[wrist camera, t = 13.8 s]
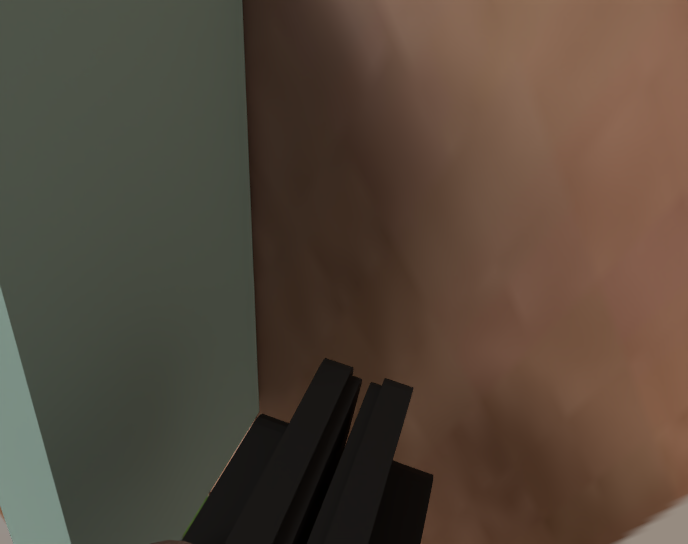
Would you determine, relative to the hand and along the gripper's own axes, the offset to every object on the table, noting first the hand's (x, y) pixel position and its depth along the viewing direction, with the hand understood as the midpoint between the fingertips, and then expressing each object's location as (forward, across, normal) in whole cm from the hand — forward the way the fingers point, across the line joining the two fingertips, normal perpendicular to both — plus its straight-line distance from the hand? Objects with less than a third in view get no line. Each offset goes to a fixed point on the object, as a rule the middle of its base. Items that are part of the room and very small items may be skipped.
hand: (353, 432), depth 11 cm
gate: (+4, +5, -2) cm, 6 cm away
